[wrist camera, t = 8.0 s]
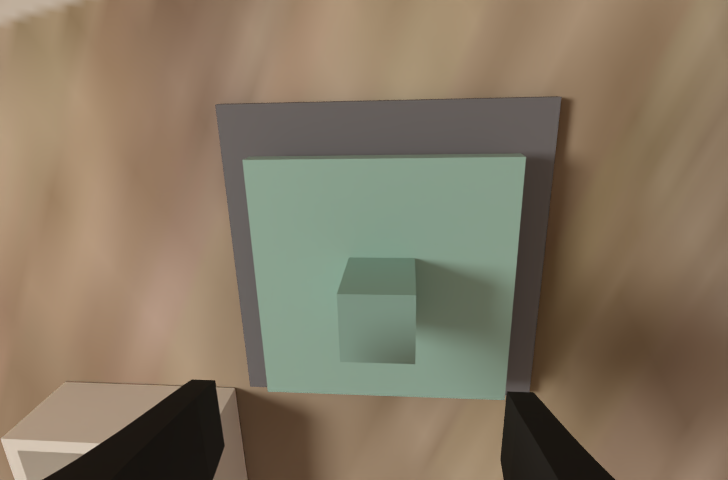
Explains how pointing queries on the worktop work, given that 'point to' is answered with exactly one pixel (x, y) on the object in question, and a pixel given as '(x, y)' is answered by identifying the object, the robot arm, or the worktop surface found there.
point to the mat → (399, 137)
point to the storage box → (103, 426)
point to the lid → (386, 271)
